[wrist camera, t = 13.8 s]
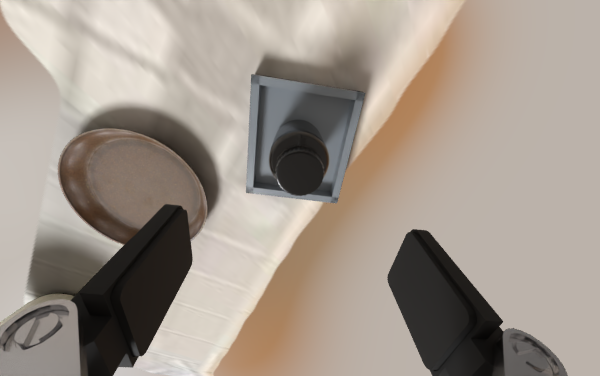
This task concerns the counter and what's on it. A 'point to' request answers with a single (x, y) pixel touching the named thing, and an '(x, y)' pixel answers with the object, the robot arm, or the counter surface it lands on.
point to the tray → (300, 106)
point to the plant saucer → (127, 182)
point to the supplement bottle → (298, 157)
